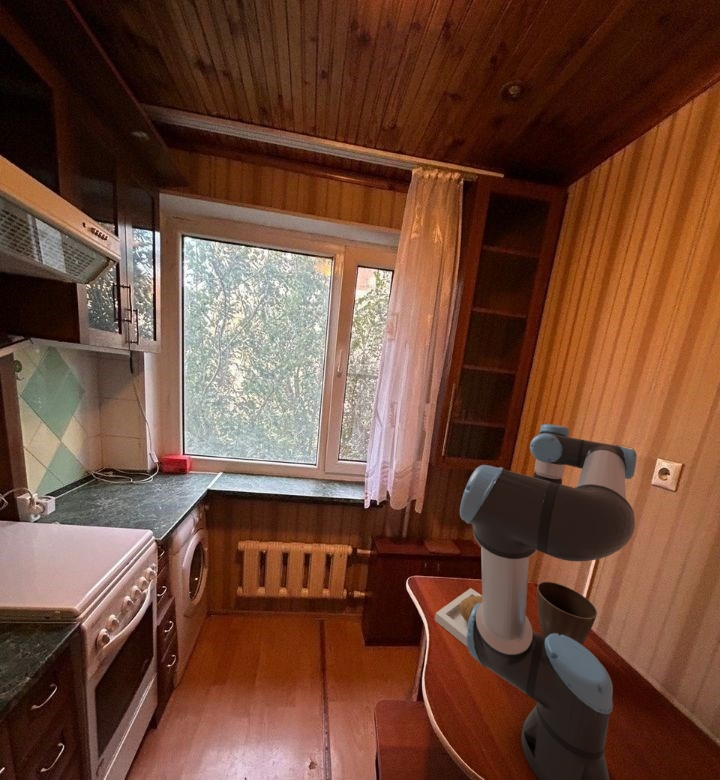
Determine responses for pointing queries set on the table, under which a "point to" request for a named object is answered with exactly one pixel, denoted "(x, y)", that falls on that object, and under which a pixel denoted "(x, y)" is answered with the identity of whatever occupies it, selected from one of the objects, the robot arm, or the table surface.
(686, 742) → the table surface
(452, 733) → the table surface
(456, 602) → the white rimmed tray
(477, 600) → the potato
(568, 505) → the robot arm
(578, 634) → the plant pot
